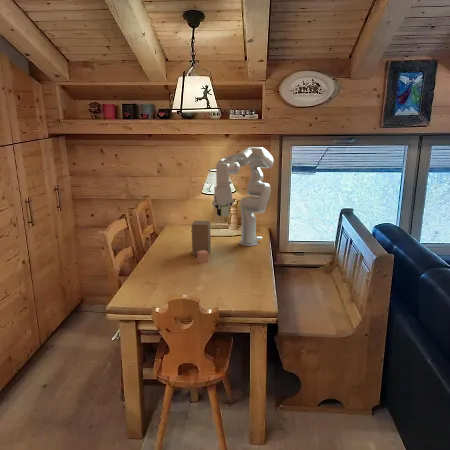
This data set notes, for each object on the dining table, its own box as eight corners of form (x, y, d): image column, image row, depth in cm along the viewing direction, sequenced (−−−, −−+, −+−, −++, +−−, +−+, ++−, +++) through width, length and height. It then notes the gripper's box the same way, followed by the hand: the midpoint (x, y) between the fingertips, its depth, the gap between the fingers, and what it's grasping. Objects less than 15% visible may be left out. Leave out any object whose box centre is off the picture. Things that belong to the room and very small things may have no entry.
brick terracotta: (205, 259, 249) (204, 249, 248) (208, 262, 245) (208, 252, 243) (197, 260, 247) (197, 251, 246) (200, 263, 243) (200, 253, 241)
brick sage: (225, 214, 250) (225, 204, 248) (229, 215, 246) (229, 205, 244) (217, 215, 248) (217, 205, 246) (221, 216, 243) (221, 206, 242)
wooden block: (210, 251, 264) (210, 220, 258) (208, 256, 254) (208, 224, 249) (195, 250, 265) (194, 220, 259) (192, 256, 255) (191, 224, 250)
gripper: (232, 182, 248) (233, 211, 253) (206, 184, 241) (207, 215, 246) (239, 184, 242) (239, 214, 247) (212, 186, 235) (213, 218, 240)
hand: (223, 214), depth 246 cm, fingers closed on brick sage, 5 cm apart
